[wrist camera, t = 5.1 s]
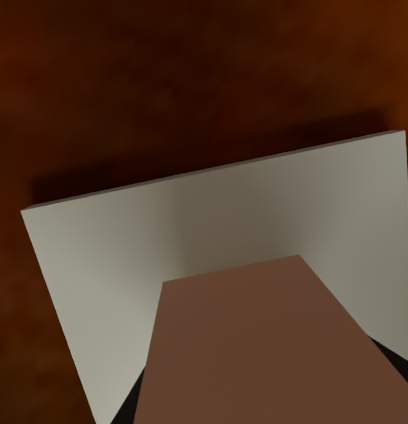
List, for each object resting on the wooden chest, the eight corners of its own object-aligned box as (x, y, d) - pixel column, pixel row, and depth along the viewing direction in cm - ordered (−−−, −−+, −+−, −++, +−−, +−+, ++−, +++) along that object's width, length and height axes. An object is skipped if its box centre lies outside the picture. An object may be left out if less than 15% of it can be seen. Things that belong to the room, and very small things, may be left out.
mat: (389, 130, 11) (405, 130, 10) (405, 382, 13) (418, 398, 12) (32, 205, 11) (20, 211, 10) (113, 439, 13) (108, 457, 13)
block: (298, 253, 9) (467, 455, 4) (315, 370, 10) (470, 675, 5) (162, 281, 10) (113, 520, 4) (191, 394, 10) (189, 724, 5)
